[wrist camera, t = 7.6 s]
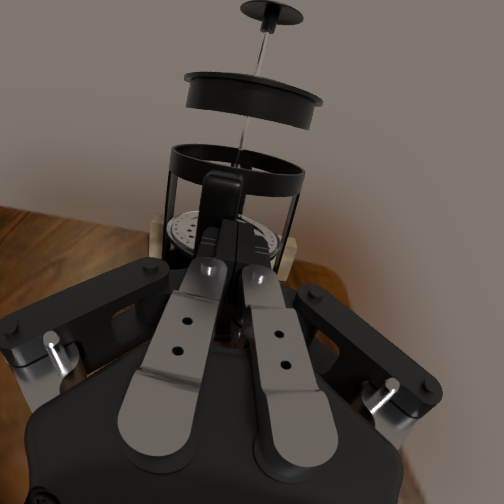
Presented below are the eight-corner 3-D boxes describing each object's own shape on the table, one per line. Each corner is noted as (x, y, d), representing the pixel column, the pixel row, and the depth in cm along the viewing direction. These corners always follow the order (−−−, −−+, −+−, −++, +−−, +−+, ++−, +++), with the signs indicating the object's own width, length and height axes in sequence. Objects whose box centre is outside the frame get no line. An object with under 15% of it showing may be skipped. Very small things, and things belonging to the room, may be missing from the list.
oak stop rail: (149, 258, 26) (150, 221, 24) (154, 248, 28) (156, 213, 26) (286, 281, 28) (297, 247, 26) (283, 270, 30) (294, 238, 28)
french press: (177, 258, 28) (217, 24, 17) (268, 278, 28) (327, 44, 18) (132, 339, 17) (176, -40, 7) (266, 370, 18) (372, -10, 7)
